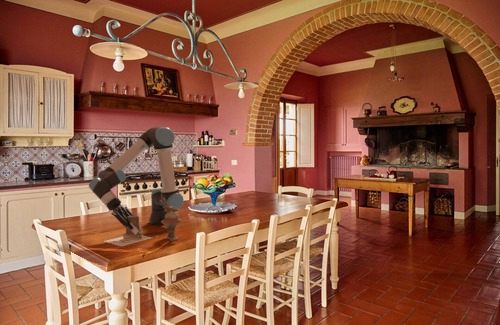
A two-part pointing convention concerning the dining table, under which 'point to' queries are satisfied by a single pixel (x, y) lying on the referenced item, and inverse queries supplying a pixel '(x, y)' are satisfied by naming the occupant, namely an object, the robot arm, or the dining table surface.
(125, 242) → the marked board
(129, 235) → the block
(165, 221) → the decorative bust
